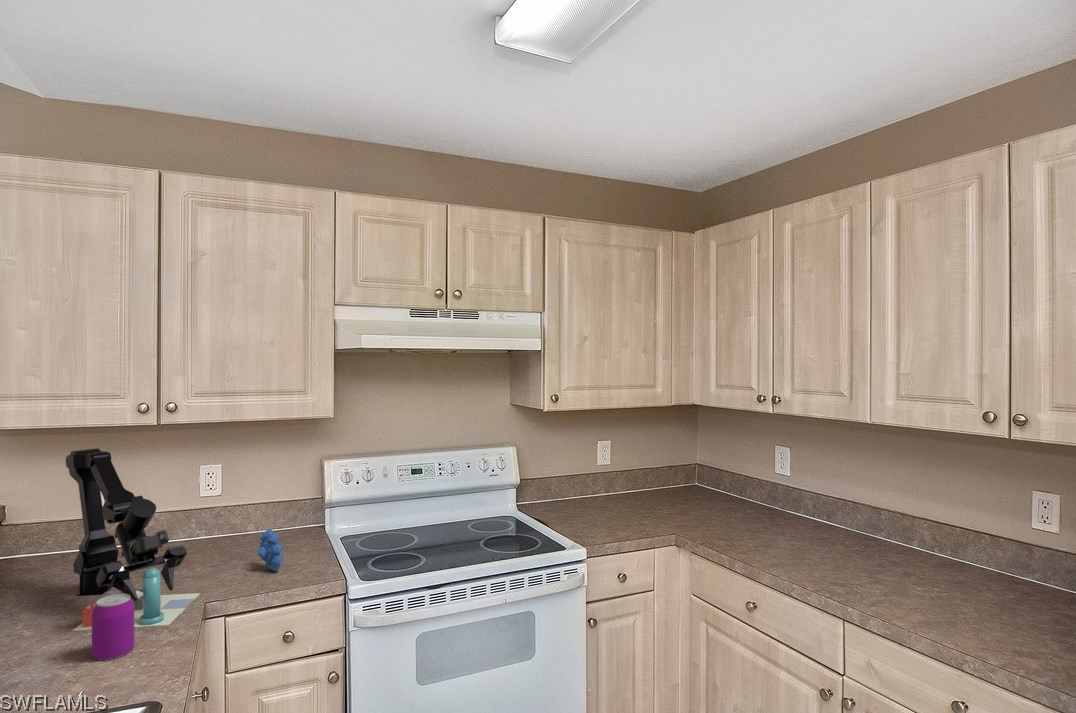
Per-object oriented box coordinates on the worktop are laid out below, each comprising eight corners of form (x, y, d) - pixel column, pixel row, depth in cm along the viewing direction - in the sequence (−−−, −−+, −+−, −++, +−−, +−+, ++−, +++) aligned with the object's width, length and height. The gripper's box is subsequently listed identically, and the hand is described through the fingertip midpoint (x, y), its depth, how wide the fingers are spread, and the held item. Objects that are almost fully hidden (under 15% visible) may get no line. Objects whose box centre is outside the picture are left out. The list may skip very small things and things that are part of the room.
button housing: (103, 611, 158) (103, 601, 158) (121, 598, 167) (121, 588, 167) (141, 609, 159) (141, 599, 159) (157, 596, 168) (157, 586, 168)
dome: (113, 606, 160) (113, 598, 160) (124, 597, 165) (124, 590, 165) (137, 604, 161) (137, 597, 161) (147, 596, 166) (147, 588, 166)
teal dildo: (135, 625, 150) (135, 572, 150) (145, 617, 155) (145, 565, 155) (158, 624, 150) (158, 571, 150) (167, 615, 155) (167, 564, 155)
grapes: (248, 568, 190) (248, 529, 190) (270, 563, 195) (270, 524, 195) (265, 578, 183) (265, 537, 182) (288, 572, 188) (288, 532, 187)
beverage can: (142, 645, 141) (141, 592, 140) (120, 662, 133) (120, 606, 133) (106, 646, 140) (106, 592, 140) (83, 663, 133) (83, 606, 133)
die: (82, 627, 149) (82, 608, 149) (88, 620, 153) (88, 602, 153) (102, 624, 150) (102, 606, 150) (107, 618, 154) (107, 600, 154)
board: (72, 632, 147) (72, 630, 147) (115, 599, 167) (115, 597, 167) (168, 626, 150) (168, 624, 150) (200, 594, 170) (200, 593, 170)
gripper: (100, 531, 147) (121, 588, 141) (183, 514, 162) (205, 565, 156) (87, 558, 152) (106, 614, 145) (169, 539, 167) (189, 590, 161)
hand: (154, 594), depth 152 cm, fingers open, 8 cm apart
